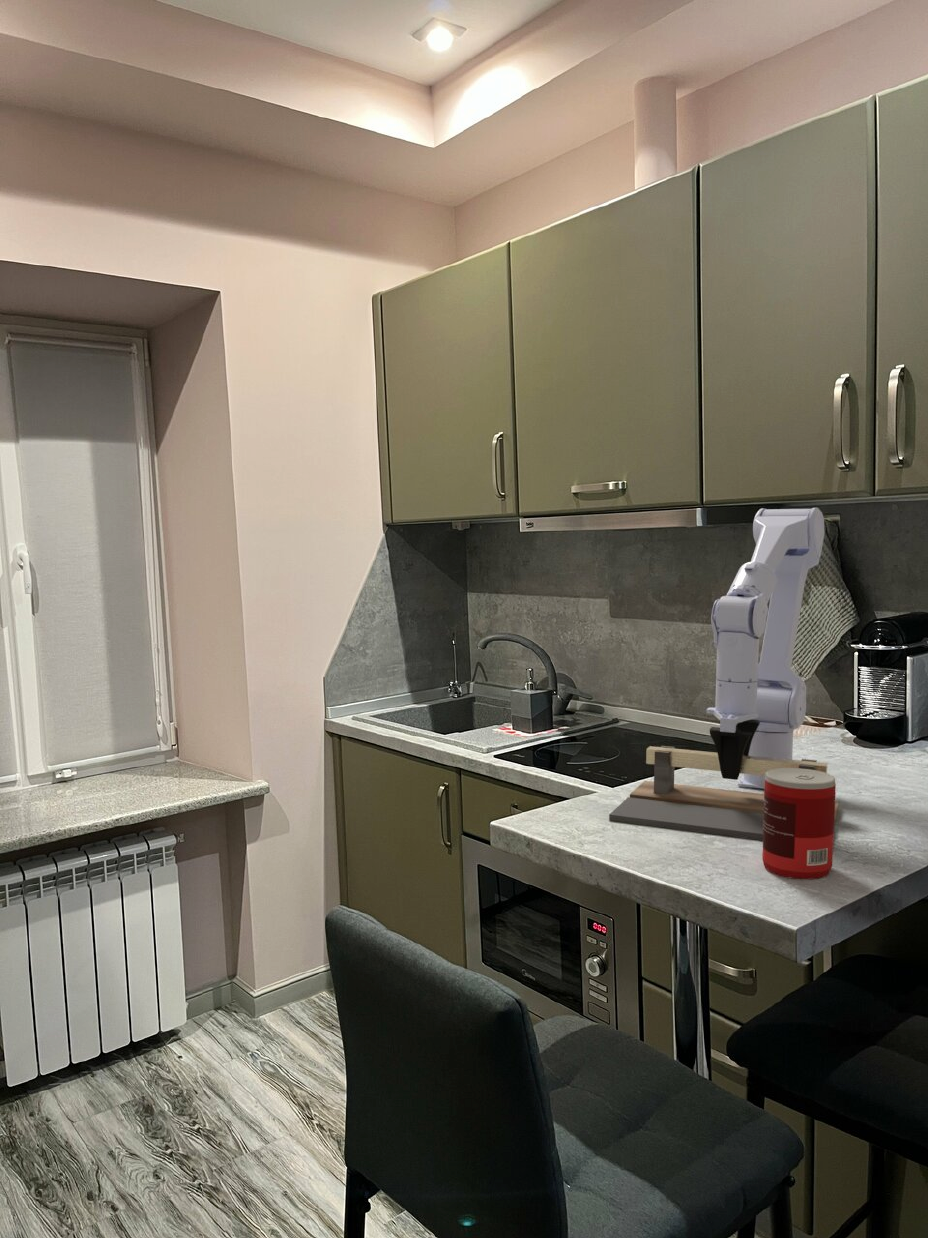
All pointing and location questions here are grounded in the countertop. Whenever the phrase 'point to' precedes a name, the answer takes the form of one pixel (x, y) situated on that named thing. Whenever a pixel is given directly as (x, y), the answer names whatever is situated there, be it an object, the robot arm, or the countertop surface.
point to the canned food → (798, 822)
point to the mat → (690, 818)
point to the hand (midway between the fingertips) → (733, 773)
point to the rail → (711, 762)
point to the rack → (699, 790)
